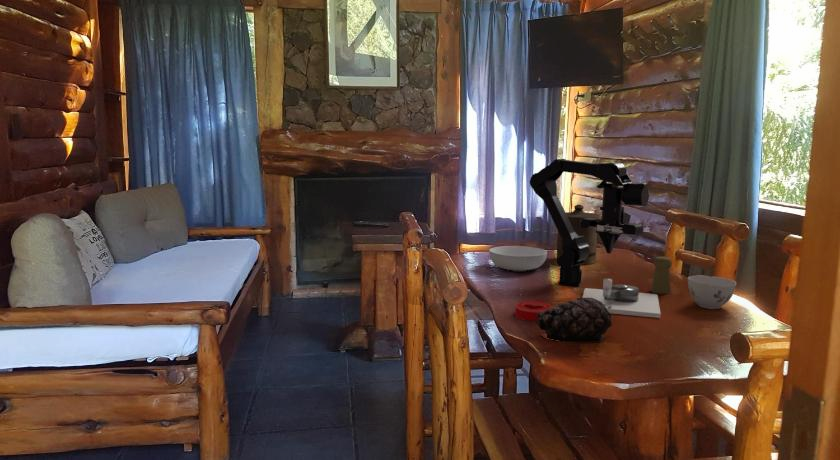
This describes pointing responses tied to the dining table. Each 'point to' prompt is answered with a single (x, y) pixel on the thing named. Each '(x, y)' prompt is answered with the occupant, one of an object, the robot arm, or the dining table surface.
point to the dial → (619, 291)
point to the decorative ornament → (530, 309)
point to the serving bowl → (517, 257)
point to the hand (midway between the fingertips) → (609, 253)
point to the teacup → (711, 290)
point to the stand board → (628, 304)
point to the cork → (662, 276)
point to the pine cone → (576, 321)
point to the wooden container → (581, 233)
